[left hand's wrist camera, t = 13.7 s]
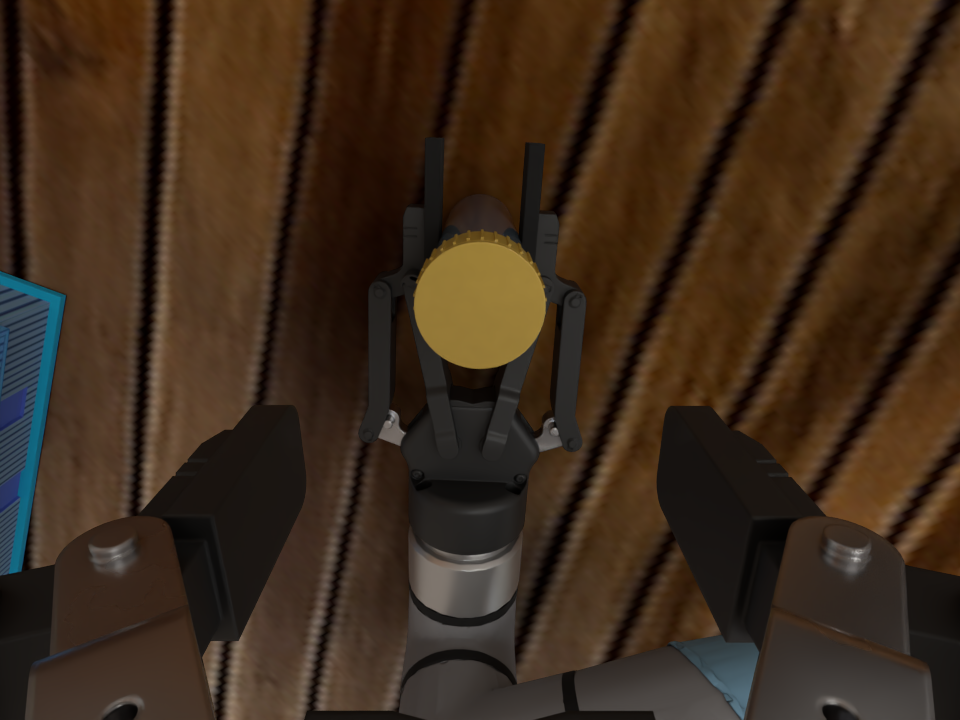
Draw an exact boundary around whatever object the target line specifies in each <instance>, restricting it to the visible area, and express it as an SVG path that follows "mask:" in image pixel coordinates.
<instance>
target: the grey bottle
mask: <svg viewBox="0 0 960 720" xmlns="http://www.w3.org/2000/svg"><path fill="white" fill-rule="evenodd" d="M481 229H483V230H484V231H486V232H492V233H494V231H496V232H497V234H500V235H503V236H505V237H506V236H509V237H510V239H511V240H512V241H514V242H515V243H520V244H521V241H520V238H519V236H518V233H517V230H516V228H515V225H514V222H513V219H512V217H511V214H510V212H509V210H508V209H507V207H506V206H505V205H504V204H503V203H502V202H501V201H499V200H498V199H496V198H494V197H492V196H489V195H484V194H475V195H471V196H468V197H466V198H464V199H462V200H461V201H459V202H458V203H457V204H456V205H455V206H454V207H453V209H452V210H451V212H450V214H449V216H448V219H447V222H446V224H445V227H444V230H443V233H442V235H441V238H440V241H439V243H438V246H437V248H438V247H439V246H441V245H442V242H443V241H444V240H446V241H447V240H449V239H451V238H453V237H454V235H455V234H457V235H460V234H463V233H467V231H468V230H470V232H474V231H481ZM521 247H522V244H521ZM522 248H523V247H522ZM523 250H524V249H523Z"/></svg>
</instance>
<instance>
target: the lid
mask: <svg viewBox="0 0 960 720" xmlns="http://www.w3.org/2000/svg"><path fill="white" fill-rule="evenodd" d="M540 275H541V274H540V272H539V270H538V267H537V265H536V263H533V261H532V258H531V256H530V253H529V252H527V253H526V252H525V251H524V250H523V248H522V247H521V244H520V243H515V242H514V241H512V240H511V239H510V237H509V236H506V237H505V236H503V235H500V234H497V232H496V231H494V233H492V232H486V231H484V230H483V229H481V231H474V232H470V230H468V231H467V233H463V234H460V235H457V234H455V235H454V237H453V238H451V239H449V240H447V241H446V240H444V241H443V242H442V245H441V246H439V247H438V248H437V249H435V248H434V250H433V252H432V254H431V256H430V258H429V259H426V260H425V263H424V265H423V267H422V270H421V271H420V274H419V276H418V278H417V281H416V283H417V286H416V289H415V291H414V294H413V297H414V307H413V310H414V313H415V319H416V323H417V326H418V328H419V331H420V333H421V335H422V337H423V338H424V340H425V341H426V343H427V344H428V345H429V346H430V347H431V348H432V349H433V350H434V351H435V352H436V353H437V354H438V355H439V356H441V357H442V358H444V359H446V360H447V361H449V362H451V363H454V364H456V365H459V366H462V367H466V368H472V369H486V368H493V367H498V366H501V365H504V364H506V363H508V362H511V361H513V360H514V359H516V358H517V357H519V356H520V355H522V354H523V353H524V352H525V351H526V350H527V349H528V348H529V347H530V346H531V345H532V344H533V342H534V341H535V339H536V338H537V336H538V334H539V332H540V330H541V328H542V325H543V322H544V318H545V314H546V301H547V298H546V296H545V293H544V289H543V288H545V285H544V283H543V280H542V278H541V276H540Z"/></svg>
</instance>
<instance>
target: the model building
mask: <svg viewBox="0 0 960 720" xmlns="http://www.w3.org/2000/svg"><path fill="white" fill-rule="evenodd" d="M65 299H66V295H63V294H61V293H58V292H55V291H53V290H50V289H47V288H44V287H42V286H39V285H36V284H33V283H31V282H28V281H25V280H23V279H20V278H17V277H14V276H12V275H9V274H6V273H4V272H1V271H0V576H1V575H6V574H11V573H16V572H21V571H22V565H23V559H24V553H25V546H26V540H27V534H28V528H29V522H30V515H31V509H32V503H33V497H34V491H35V484H36V478H37V472H38V466H39V460H40V454H41V447H42V441H43V435H44V429H45V423H46V416H47V410H48V404H49V398H50V392H51V385H52V379H53V373H54V367H55V361H56V354H57V348H58V342H59V336H60V330H61V324H62V317H63V311H64V305H65Z"/></svg>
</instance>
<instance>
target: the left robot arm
mask: <svg viewBox="0 0 960 720" xmlns="http://www.w3.org/2000/svg"><path fill="white" fill-rule="evenodd" d="M305 492H306V471H305V463H304V455H303V448H302V440H301V432H300V425H299V417H298V413H297V410H296V408H295V407H294V406H293V405H254V406H252V407H251V408H250V409H249V411H248V412H247V413H246V414H245V416H244V417H243V418H242V419H241V420H240V422H239V423H238V424H237V425H236V426H235V428H234V429H233V430H224V431H222V432H220V433H219V434H217V435H215V436H214V437H212V438H210V439H209V440H207V441H205V442H204V443H202V444H201V445H200V446H199V447H198V448H197V450H196V451H195V452H194V453H193V454H192V455H191V456H190V457H189V459H188V462H187V463H184V464H183V465H182V466H181V468H180V469H179V470H178V471H177V472H176V476H172V478H171V479H170V480H169V481H168V482H167V483H166V484H165V485H164V487H163V488H162V489H161V490H160V491H159V492H158V493H157V494H156V496H155V497H154V498H153V499H152V500H151V501H150V502H149V503H148V505H147V506H146V507H145V508H144V509H143V510H142V511H141V512H140V514H139V515H138V516H134V517H127V518H122V519H118V520H114V521H111V522H108V523H105V524H102V525H100V526H97V527H95V528H93V529H91V530H89V531H87V532H85V533H84V534H82V535H80V536H79V537H77V538H76V539H75V540H73V541H72V542H71V543H69V544H68V545H67V546H66V547H65V548H64V549H63V551H62V552H61V553H60V554H59V556H58V558H57V560H56V564H55V565H50V566H46V567H41V568H36V569H31V570H26V571H21V572H16V573H11V574H6V575H1V576H0V720H216V715H215V711H214V707H213V702H212V698H211V694H210V689H209V685H208V681H207V676H206V672H205V668H204V664H203V660H202V656H203V654H204V652H205V651H206V649H207V647H208V645H209V643H210V641H239V639H240V637H241V635H242V632H243V630H244V628H245V626H246V624H247V622H248V620H249V618H250V616H251V613H252V611H253V609H254V607H255V605H256V603H257V601H258V599H259V597H260V594H261V592H262V590H263V588H264V586H265V584H266V582H267V580H268V578H269V575H270V573H271V571H272V569H273V567H274V565H275V563H276V561H277V559H278V556H279V554H280V552H281V550H282V548H283V546H284V544H285V542H286V540H287V537H288V535H289V533H290V531H291V529H292V527H293V525H294V523H295V521H296V518H297V516H298V514H299V512H300V510H301V508H302V505H303V502H304V498H305ZM657 493H658V499H659V503H660V506H661V509H662V511H663V513H664V515H665V517H666V519H667V521H668V523H669V525H670V528H671V530H672V532H673V534H674V536H675V538H676V540H677V542H678V544H679V546H680V548H681V550H682V552H683V555H684V557H685V559H686V561H687V563H688V565H689V567H690V569H691V571H692V573H693V575H694V577H695V580H696V582H697V584H698V586H699V588H700V590H701V592H702V594H703V596H704V598H705V600H706V602H707V605H708V607H709V609H710V611H711V613H712V615H713V617H714V619H715V621H716V623H717V625H718V627H719V630H720V632H721V634H722V636H723V638H724V640H725V642H726V643H754V644H755V645H756V647H757V649H758V651H759V655H758V660H757V664H756V668H755V672H754V676H753V681H752V685H751V689H750V694H749V698H748V702H747V707H746V711H745V715H744V720H960V576H956V575H951V574H946V573H941V572H936V571H931V570H926V569H921V568H916V567H912V566H908V565H905V564H904V560H903V558H902V556H901V554H900V553H899V552H898V551H897V549H896V548H895V547H894V546H893V545H892V544H891V543H889V542H888V541H887V540H885V539H884V538H883V537H881V536H880V535H878V534H876V533H875V532H873V531H871V530H869V529H867V528H865V527H863V526H860V525H858V524H855V523H852V522H849V521H846V520H842V519H838V518H833V517H827V516H826V515H825V514H824V513H823V512H822V511H821V510H820V509H819V507H818V506H817V505H816V504H815V503H814V502H813V501H812V500H811V499H810V497H809V496H808V495H807V494H806V493H805V492H804V491H803V490H802V489H801V487H800V486H799V485H798V484H797V483H796V482H795V481H794V480H793V479H792V477H788V473H787V472H786V471H785V470H784V469H783V467H782V466H781V465H780V464H776V460H775V459H774V457H773V456H772V455H771V454H770V453H769V452H768V451H767V450H766V448H765V447H764V446H763V445H762V444H760V443H759V442H757V441H755V440H754V439H752V438H750V437H748V436H747V435H745V434H743V433H742V432H740V431H731V430H730V429H729V428H728V426H727V425H726V424H725V423H724V422H723V420H722V419H721V418H720V417H719V416H718V415H717V413H716V412H715V411H714V410H713V409H712V408H711V407H710V406H670V407H669V408H668V409H667V411H666V414H665V419H664V426H663V433H662V441H661V449H660V456H659V464H658V471H657ZM304 720H425V719H422V718H418V717H414V716H410V715H406V714H402V713H398V712H395V711H307V713H306V716H305V719H304ZM535 720H656V719H655V716H654V713H653V711H565V712H562V713H558V714H554V715H550V716H546V717H542V718H538V719H535Z"/></svg>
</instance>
